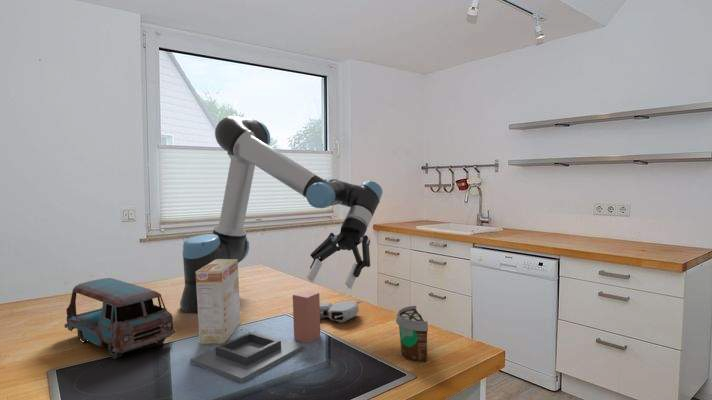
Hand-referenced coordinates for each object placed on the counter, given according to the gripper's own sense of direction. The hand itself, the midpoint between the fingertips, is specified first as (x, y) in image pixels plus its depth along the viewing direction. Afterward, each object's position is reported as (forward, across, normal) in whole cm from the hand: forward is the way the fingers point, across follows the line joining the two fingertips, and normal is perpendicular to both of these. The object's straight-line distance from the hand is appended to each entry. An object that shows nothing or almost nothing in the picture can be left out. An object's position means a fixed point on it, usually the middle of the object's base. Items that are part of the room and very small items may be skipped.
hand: (328, 283), depth 120 cm
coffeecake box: (+22, +24, +4) cm, 33 cm away
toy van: (+35, +43, +17) cm, 58 cm away
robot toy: (+4, +4, -14) cm, 16 cm away
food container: (+12, -27, -6) cm, 31 cm away
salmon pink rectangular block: (+16, +1, -3) cm, 16 cm away
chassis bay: (+27, +6, +9) cm, 29 cm away
